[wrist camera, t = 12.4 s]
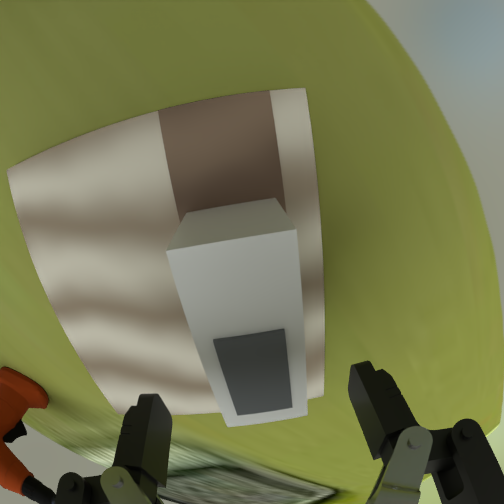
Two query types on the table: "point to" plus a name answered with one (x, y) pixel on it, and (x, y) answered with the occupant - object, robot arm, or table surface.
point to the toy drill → (19, 434)
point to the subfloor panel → (163, 233)
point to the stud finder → (244, 307)
